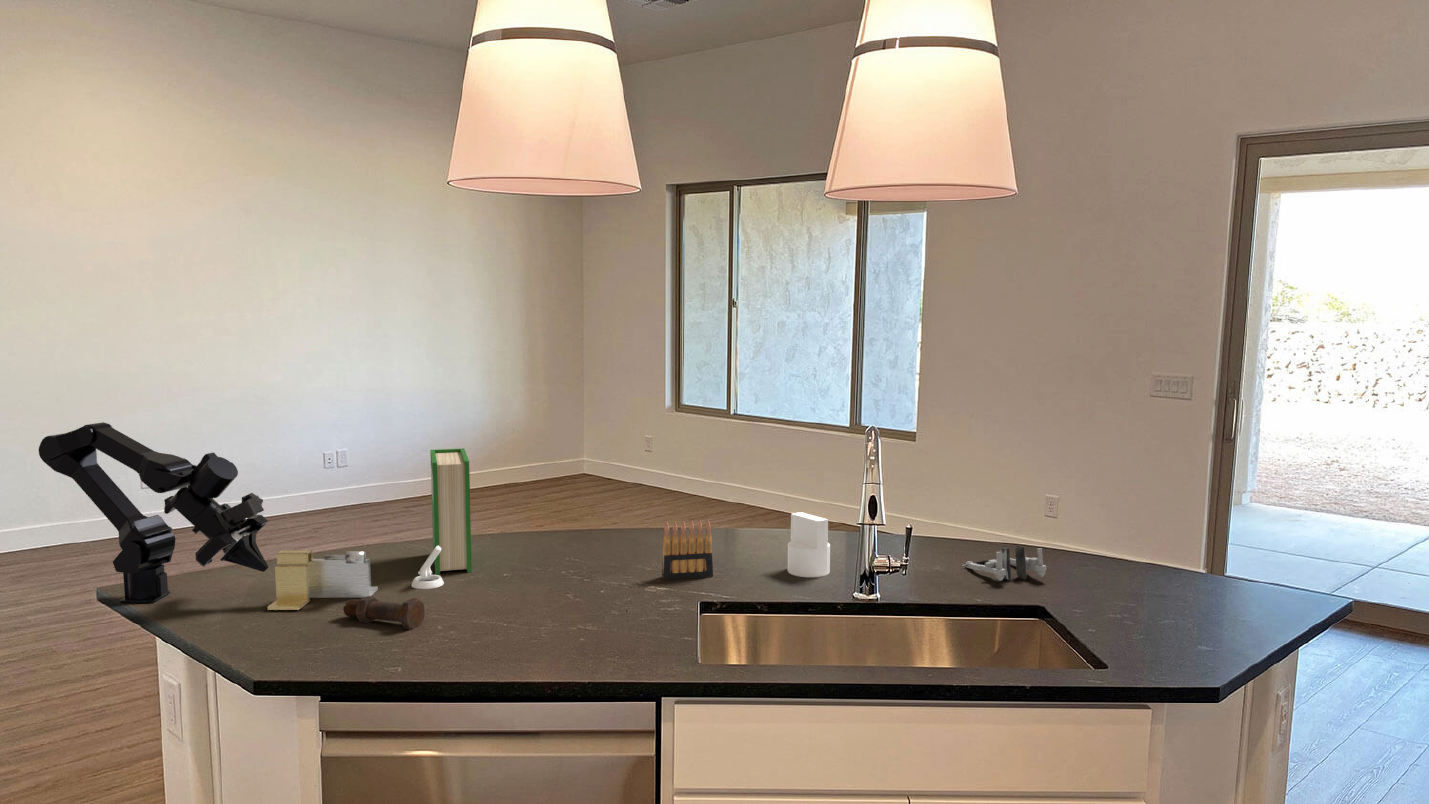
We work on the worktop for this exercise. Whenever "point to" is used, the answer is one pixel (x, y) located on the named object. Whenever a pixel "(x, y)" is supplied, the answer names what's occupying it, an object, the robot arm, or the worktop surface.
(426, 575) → the hook
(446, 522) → the hardback book
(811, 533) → the cylinder with rectangular tab
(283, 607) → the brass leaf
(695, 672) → the worktop surface
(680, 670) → the worktop surface
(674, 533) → the ammunition clip
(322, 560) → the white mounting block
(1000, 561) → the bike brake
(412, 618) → the bolt
